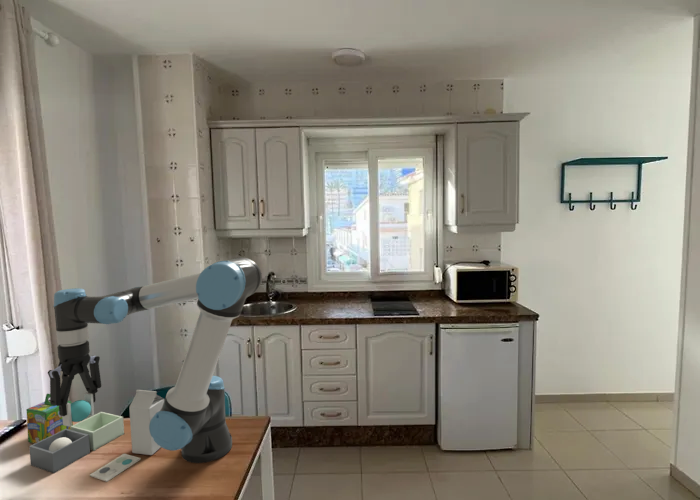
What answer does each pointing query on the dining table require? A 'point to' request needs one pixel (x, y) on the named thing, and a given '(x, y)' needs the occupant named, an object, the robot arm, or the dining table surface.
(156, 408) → the milk carton
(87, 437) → the grey storage bin
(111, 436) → the pale green tray
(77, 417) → the ball teal
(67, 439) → the ball white
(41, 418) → the chalk box
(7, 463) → the dining table surface
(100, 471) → the card
